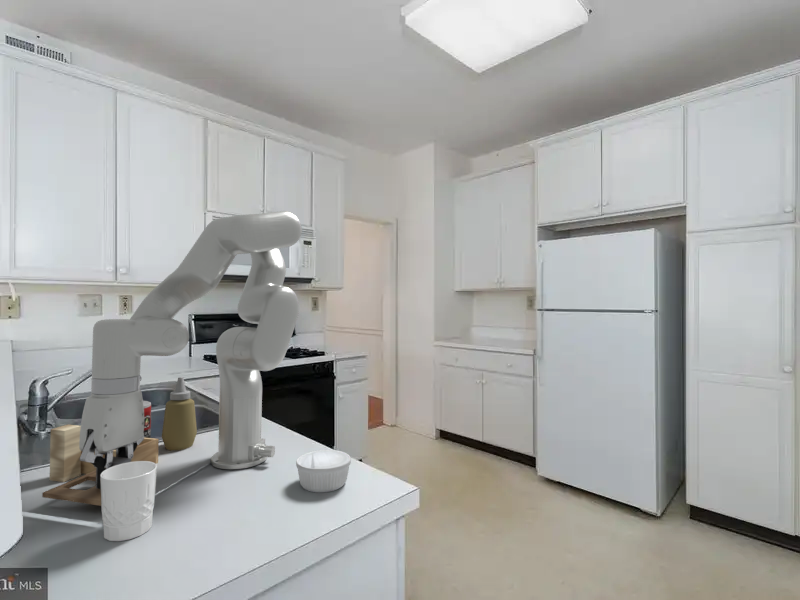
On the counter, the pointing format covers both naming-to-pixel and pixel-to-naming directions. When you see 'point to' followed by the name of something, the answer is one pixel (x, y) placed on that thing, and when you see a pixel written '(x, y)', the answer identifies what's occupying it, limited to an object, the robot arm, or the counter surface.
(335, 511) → the counter surface
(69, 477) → the wooden block
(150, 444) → the toolbox
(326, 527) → the counter surface
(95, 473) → the wooden frame
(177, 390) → the squeeze bottle
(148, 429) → the canned food
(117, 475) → the white cup
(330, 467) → the ramekin
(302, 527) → the counter surface
